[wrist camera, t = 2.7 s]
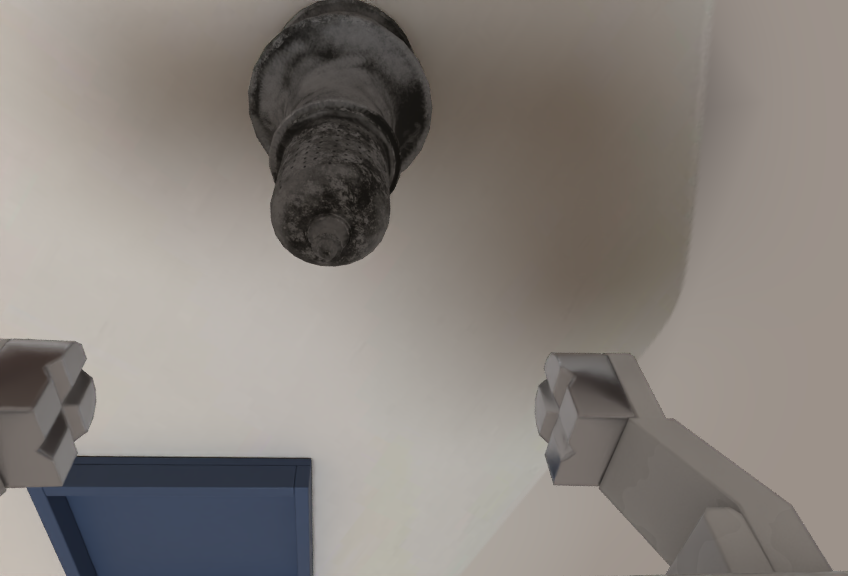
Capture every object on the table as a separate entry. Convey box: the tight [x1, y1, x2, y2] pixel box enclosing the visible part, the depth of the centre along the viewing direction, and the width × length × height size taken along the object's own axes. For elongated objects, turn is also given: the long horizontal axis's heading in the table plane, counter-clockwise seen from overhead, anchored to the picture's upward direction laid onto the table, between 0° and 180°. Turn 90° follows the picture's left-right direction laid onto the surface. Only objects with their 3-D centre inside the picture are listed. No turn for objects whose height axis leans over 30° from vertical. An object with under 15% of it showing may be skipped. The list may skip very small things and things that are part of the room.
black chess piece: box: [248, 0, 432, 266], centre depth 18 cm, size 6×6×12 cm
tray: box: [27, 457, 313, 576], centre depth 39 cm, size 15×15×2 cm
